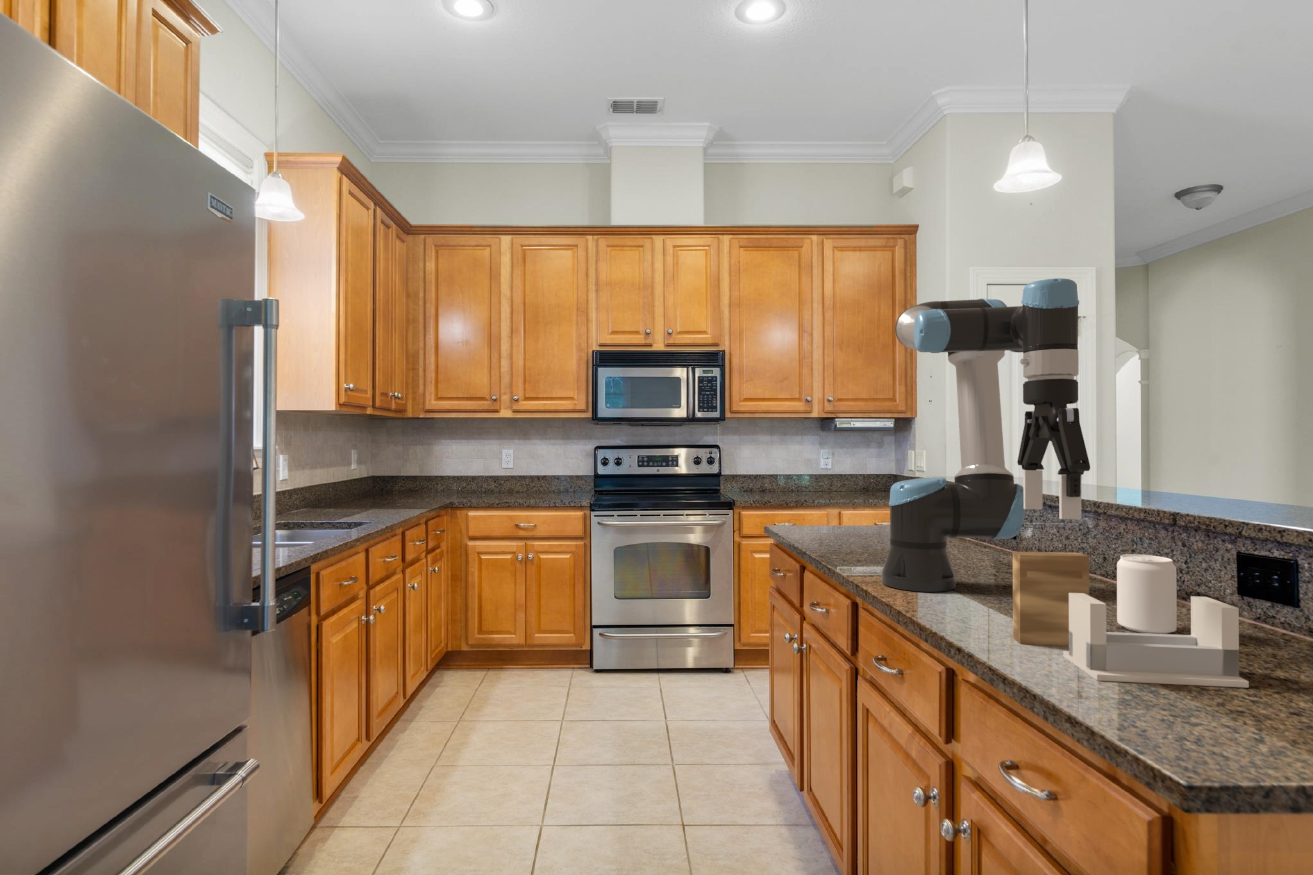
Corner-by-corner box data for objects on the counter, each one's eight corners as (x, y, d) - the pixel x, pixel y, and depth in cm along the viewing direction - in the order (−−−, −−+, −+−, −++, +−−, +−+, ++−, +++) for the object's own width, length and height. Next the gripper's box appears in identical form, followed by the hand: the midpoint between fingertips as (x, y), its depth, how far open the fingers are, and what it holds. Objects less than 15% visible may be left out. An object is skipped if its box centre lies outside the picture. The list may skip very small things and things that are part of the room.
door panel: (1012, 637, 108) (1012, 551, 108) (1079, 640, 107) (1079, 552, 107) (1020, 644, 105) (1020, 554, 105) (1089, 646, 103) (1089, 556, 103)
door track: (1063, 656, 99) (1063, 589, 99) (1198, 661, 96) (1198, 593, 96) (1097, 680, 89) (1096, 606, 89) (1248, 687, 86) (1248, 611, 86)
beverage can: (1187, 637, 108) (1187, 563, 108) (1131, 634, 110) (1130, 561, 110) (1160, 623, 116) (1160, 554, 116) (1108, 621, 118) (1108, 553, 118)
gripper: (996, 385, 119) (997, 505, 119) (1059, 372, 94) (1060, 523, 94) (1042, 384, 117) (1042, 505, 117) (1118, 371, 93) (1118, 524, 93)
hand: (1050, 514), depth 106 cm, fingers open, 13 cm apart
